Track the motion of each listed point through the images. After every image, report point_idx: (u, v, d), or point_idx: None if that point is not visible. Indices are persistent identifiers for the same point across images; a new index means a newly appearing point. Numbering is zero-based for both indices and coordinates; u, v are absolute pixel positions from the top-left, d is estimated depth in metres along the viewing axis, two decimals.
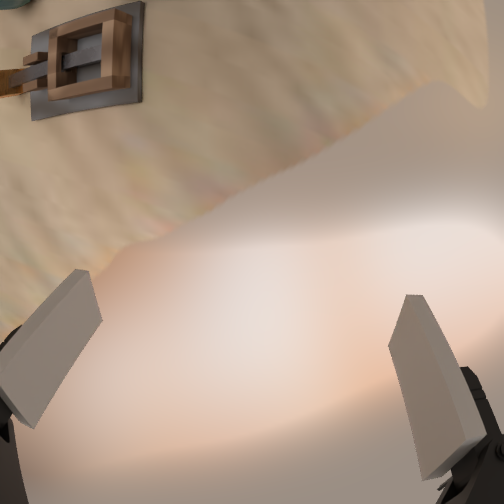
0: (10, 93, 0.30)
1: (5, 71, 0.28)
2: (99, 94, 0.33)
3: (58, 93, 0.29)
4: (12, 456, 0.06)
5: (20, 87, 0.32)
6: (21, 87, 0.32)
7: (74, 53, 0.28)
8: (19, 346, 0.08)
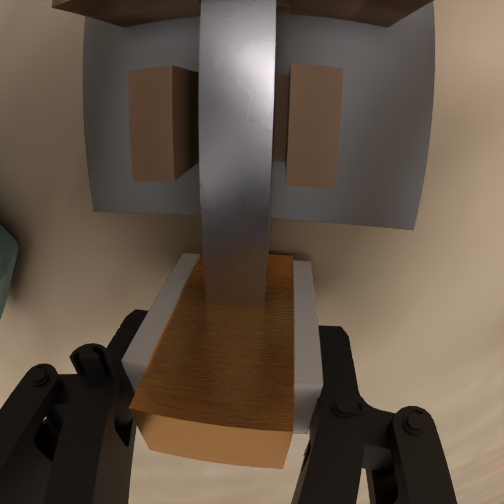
0: (289, 302, 0.11)
1: (179, 313, 0.10)
2: None
3: None
4: (127, 461, 0.07)
5: (271, 267, 0.13)
6: (271, 265, 0.13)
7: None
8: (159, 328, 0.09)
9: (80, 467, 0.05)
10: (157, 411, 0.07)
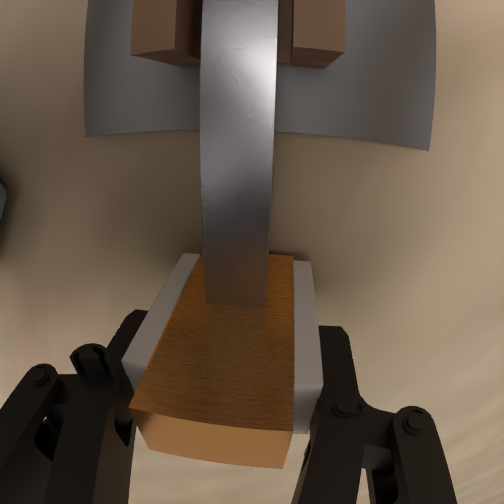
0: (289, 302, 0.11)
1: (179, 312, 0.10)
2: None
3: None
4: (127, 461, 0.07)
5: (271, 267, 0.13)
6: (272, 264, 0.13)
7: None
8: (159, 328, 0.09)
9: (80, 467, 0.05)
10: (157, 410, 0.07)
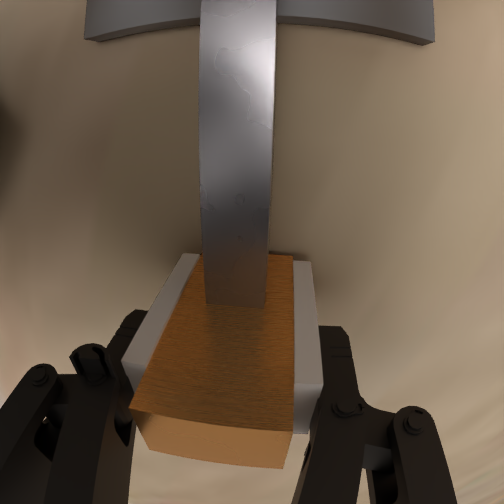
0: (289, 302, 0.11)
1: (179, 313, 0.10)
2: None
3: None
4: (127, 461, 0.07)
5: (270, 267, 0.13)
6: (271, 265, 0.13)
7: None
8: (159, 328, 0.09)
9: (80, 467, 0.05)
10: (157, 410, 0.07)
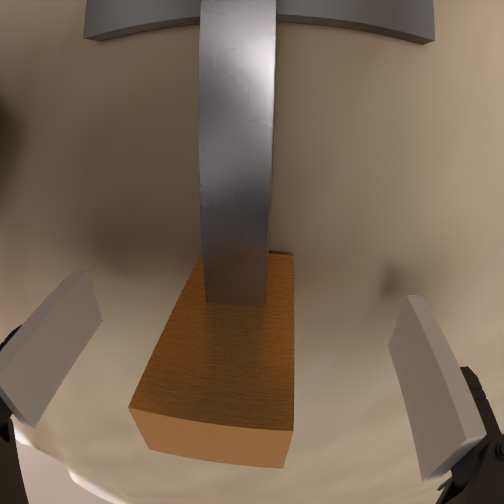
0: (289, 301, 0.11)
1: (179, 312, 0.10)
2: None
3: None
4: (12, 455, 0.06)
5: (270, 266, 0.13)
6: (271, 264, 0.13)
7: None
8: (19, 346, 0.08)
9: None
10: (157, 410, 0.07)
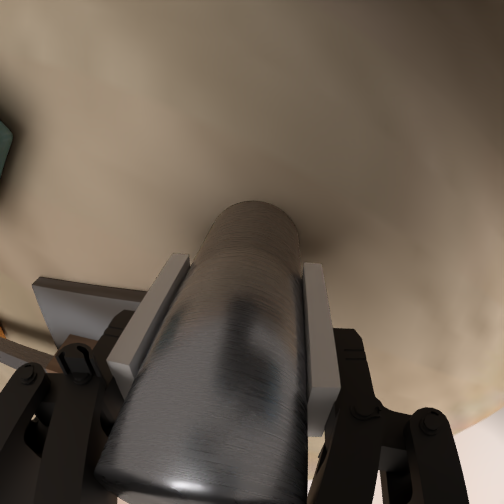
0: None
1: None
2: None
3: None
4: None
5: None
6: None
7: None
8: (144, 328, 0.09)
9: (68, 464, 0.05)
10: None
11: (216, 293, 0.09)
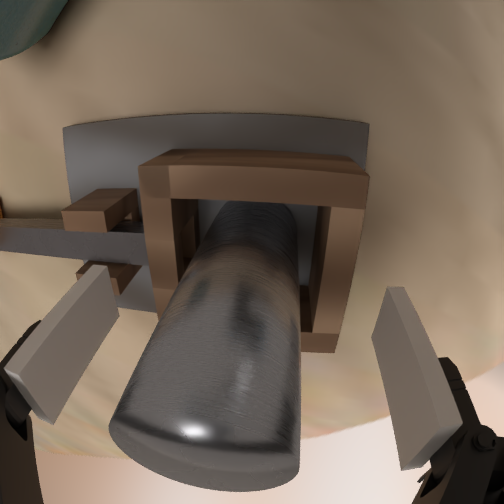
0: None
1: None
2: None
3: None
4: (29, 454, 0.06)
5: None
6: None
7: (88, 234, 0.17)
8: (41, 340, 0.08)
9: None
10: None
11: (220, 269, 0.10)
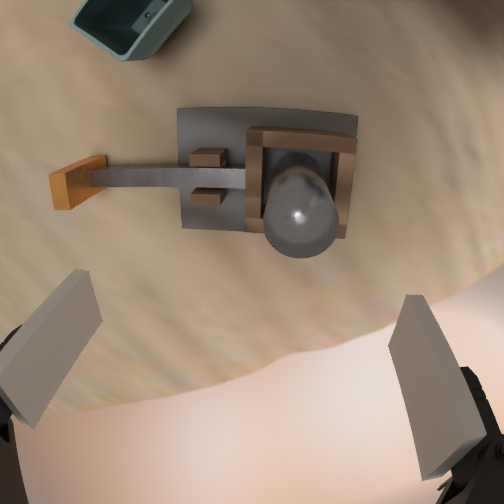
0: (94, 193, 0.33)
1: (85, 165, 0.30)
2: None
3: None
4: (12, 456, 0.06)
5: None
6: None
7: (201, 170, 0.30)
8: (19, 346, 0.08)
9: None
10: (66, 179, 0.27)
11: (296, 168, 0.24)
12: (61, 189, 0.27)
